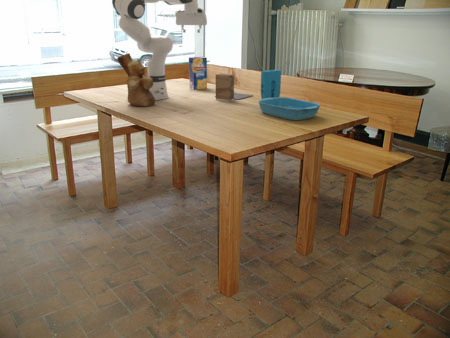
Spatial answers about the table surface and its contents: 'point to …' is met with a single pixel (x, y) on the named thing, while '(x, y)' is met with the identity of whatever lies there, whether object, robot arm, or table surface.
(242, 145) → the table surface
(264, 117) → the table surface
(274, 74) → the block
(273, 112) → the casserole dish
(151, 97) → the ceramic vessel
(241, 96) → the felt mat
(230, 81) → the walnut block
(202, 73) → the cracker box
